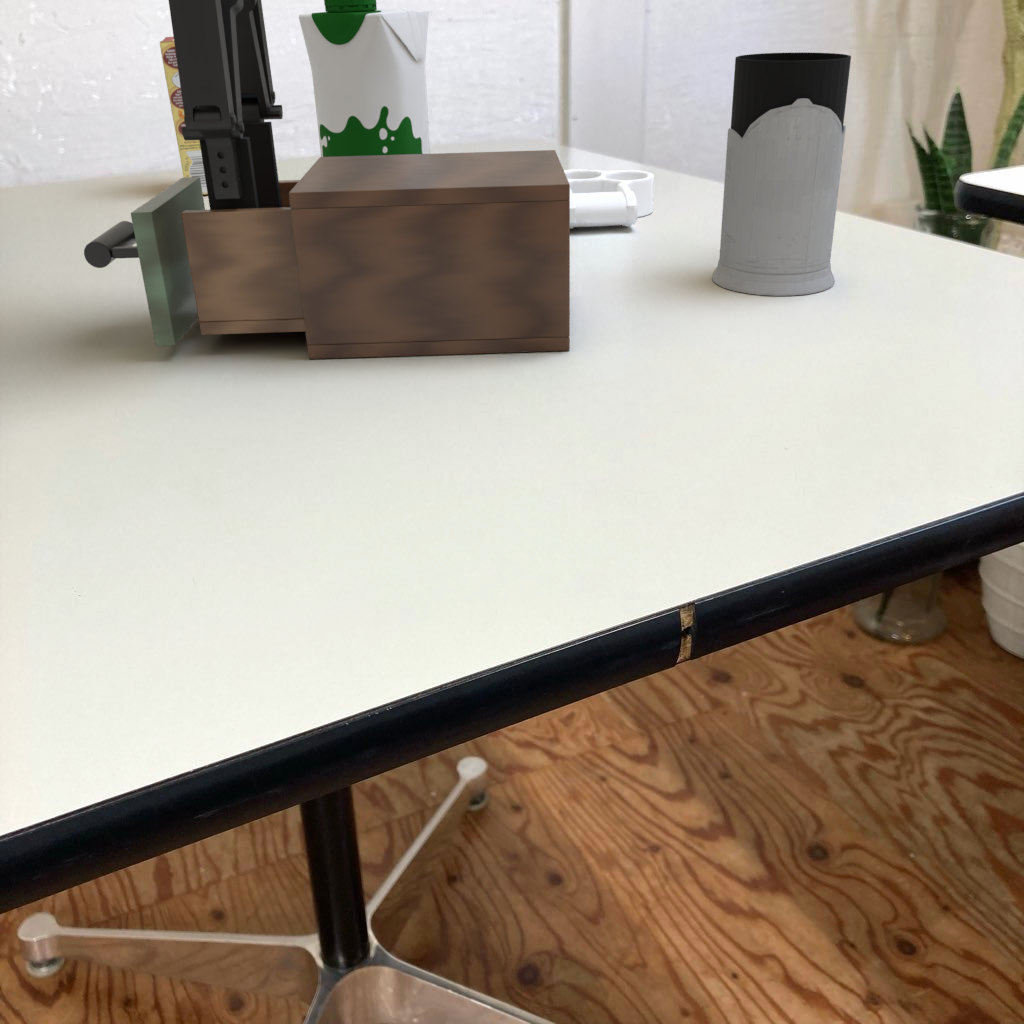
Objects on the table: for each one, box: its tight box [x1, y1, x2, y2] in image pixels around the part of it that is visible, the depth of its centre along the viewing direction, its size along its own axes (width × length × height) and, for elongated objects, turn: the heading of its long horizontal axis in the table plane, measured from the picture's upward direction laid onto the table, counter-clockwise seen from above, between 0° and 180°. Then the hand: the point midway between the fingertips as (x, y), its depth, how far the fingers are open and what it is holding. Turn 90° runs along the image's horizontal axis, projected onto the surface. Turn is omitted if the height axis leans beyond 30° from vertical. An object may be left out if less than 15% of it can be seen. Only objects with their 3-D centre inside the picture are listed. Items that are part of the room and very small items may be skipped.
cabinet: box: [289, 149, 571, 360], centre depth 66 cm, size 16×13×10 cm
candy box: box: [159, 36, 208, 196], centre depth 112 cm, size 9×4×15 cm, turn 14°
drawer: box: [83, 177, 305, 347], centre depth 66 cm, size 19×12×8 cm, turn 92°
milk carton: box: [298, 0, 431, 157], centre depth 87 cm, size 9×9×20 cm
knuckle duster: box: [563, 168, 655, 230], centre depth 96 cm, size 3×18×15 cm
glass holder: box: [711, 52, 852, 297], centre depth 75 cm, size 9×14×15 cm, turn 179°
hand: (252, 238), depth 66 cm, fingers open, 6 cm apart
